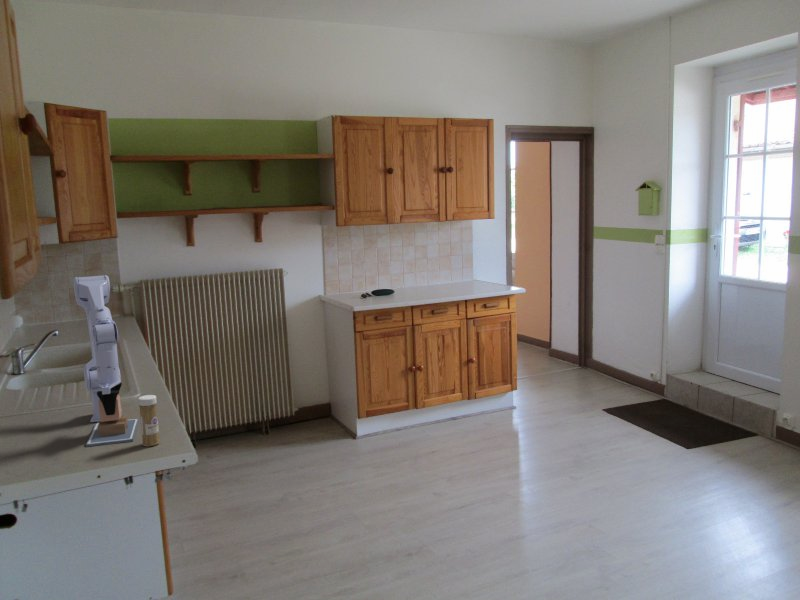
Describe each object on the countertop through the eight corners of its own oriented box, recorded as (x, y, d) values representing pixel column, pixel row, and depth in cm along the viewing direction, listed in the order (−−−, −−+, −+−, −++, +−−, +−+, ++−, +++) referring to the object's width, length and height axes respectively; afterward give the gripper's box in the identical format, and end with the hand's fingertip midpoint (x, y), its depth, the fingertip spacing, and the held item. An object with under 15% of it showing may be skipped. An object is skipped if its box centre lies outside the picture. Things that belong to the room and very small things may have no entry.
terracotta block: (103, 416, 190) (100, 396, 189) (121, 414, 192) (119, 394, 191) (100, 421, 185) (98, 401, 184) (119, 419, 187) (117, 399, 186)
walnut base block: (102, 428, 192) (101, 418, 191) (128, 425, 194) (127, 415, 193) (98, 436, 185) (97, 426, 184) (125, 433, 187) (124, 423, 186)
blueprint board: (95, 425, 196) (95, 423, 196) (138, 420, 200) (138, 418, 199) (85, 446, 179) (85, 444, 179) (133, 441, 182) (132, 438, 182)
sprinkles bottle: (154, 447, 178) (150, 399, 175) (139, 446, 178) (134, 399, 176) (163, 441, 182) (159, 394, 180) (147, 440, 183) (143, 394, 181)
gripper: (96, 361, 192) (100, 405, 194) (87, 373, 178) (92, 421, 180) (122, 358, 194) (126, 403, 196) (116, 370, 180) (120, 418, 182)
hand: (111, 411), depth 188 cm, fingers closed on terracotta block, 5 cm apart
